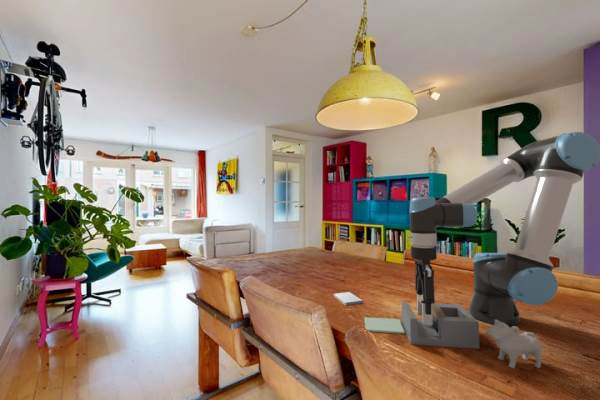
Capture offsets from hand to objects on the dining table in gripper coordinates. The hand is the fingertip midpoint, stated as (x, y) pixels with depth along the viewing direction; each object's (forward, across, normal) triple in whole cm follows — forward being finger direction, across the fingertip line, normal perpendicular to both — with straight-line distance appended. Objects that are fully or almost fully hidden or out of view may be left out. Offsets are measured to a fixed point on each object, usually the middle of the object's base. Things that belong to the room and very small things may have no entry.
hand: (424, 319), depth 90 cm
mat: (+5, -4, -12) cm, 14 cm away
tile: (-1, 0, +2) cm, 3 cm away
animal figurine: (+5, +13, +19) cm, 23 cm away
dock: (+5, 0, +4) cm, 6 cm away
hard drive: (+5, -30, -24) cm, 39 cm away
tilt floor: (-1, 0, +2) cm, 2 cm away
